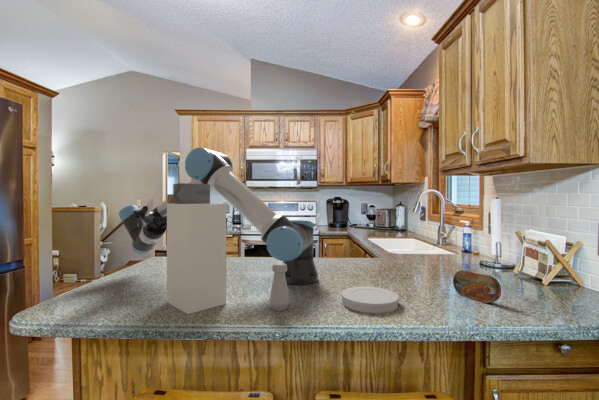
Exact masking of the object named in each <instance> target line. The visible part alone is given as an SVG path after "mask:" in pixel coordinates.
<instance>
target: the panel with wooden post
mask: <svg viewBox="0 0 599 400" xmlns="http://www.w3.org/2000/svg"><path fill="white" fill-rule="evenodd" d="M187 183H188V182H187ZM187 183H183V182H181V183H173V184H172V190H173V191H172V194H171V193H168V194H167V195H166V199H167V203H173V204H211V190H210V184H187Z"/></svg>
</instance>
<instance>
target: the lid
mask: <svg viewBox="0 0 599 400" xmlns="http://www.w3.org/2000/svg"><path fill="white" fill-rule="evenodd" d="M340 296H341V303H342V304H343V306H344V307H346V308H348V309H350V310H352V311H356V312H361V313H369V314H383V313H385V314H386V313H389V312H393V311H395V310H397V309H398V306H399V305H398V303H399V302H400V296H399V294H397V293H396V292H394V291H393V290H390V289H386V288H382V287H378V286H377V287H376V286H352V287H347V288H345V289H343V290H341V293H340Z"/></svg>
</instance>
